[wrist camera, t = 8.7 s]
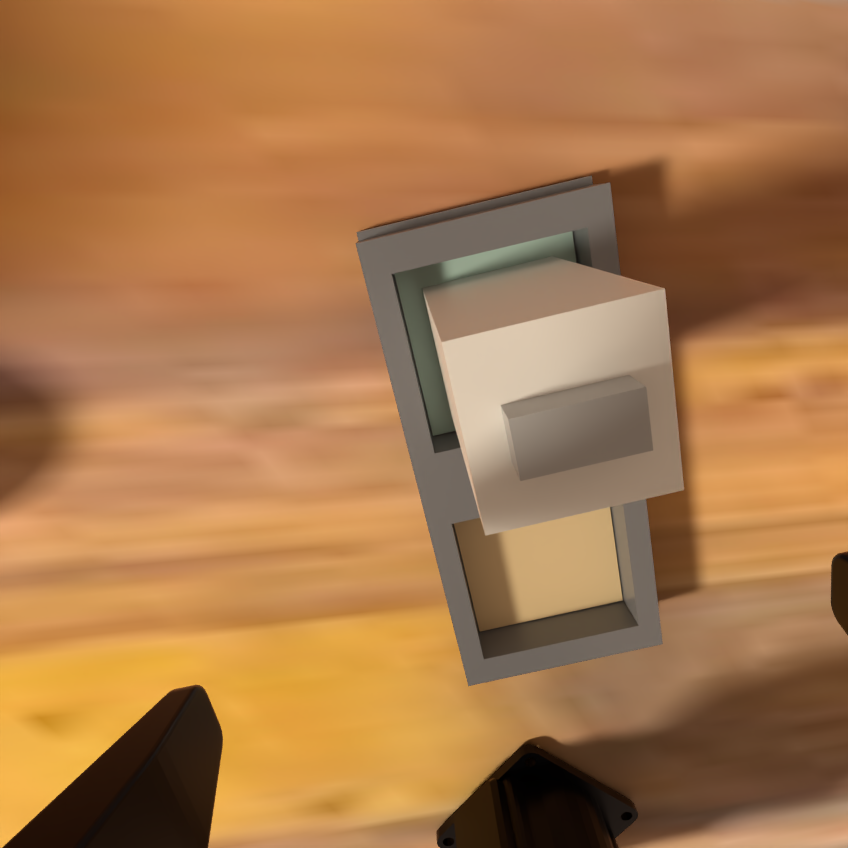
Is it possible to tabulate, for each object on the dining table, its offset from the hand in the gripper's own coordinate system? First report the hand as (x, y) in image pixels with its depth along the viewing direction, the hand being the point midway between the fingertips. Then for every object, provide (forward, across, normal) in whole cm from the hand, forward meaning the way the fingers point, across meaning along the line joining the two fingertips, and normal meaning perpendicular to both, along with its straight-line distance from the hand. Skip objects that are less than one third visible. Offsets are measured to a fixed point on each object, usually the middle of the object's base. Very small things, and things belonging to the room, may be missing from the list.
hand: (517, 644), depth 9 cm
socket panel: (+12, -2, +2) cm, 13 cm away
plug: (+12, -2, -2) cm, 12 cm away
